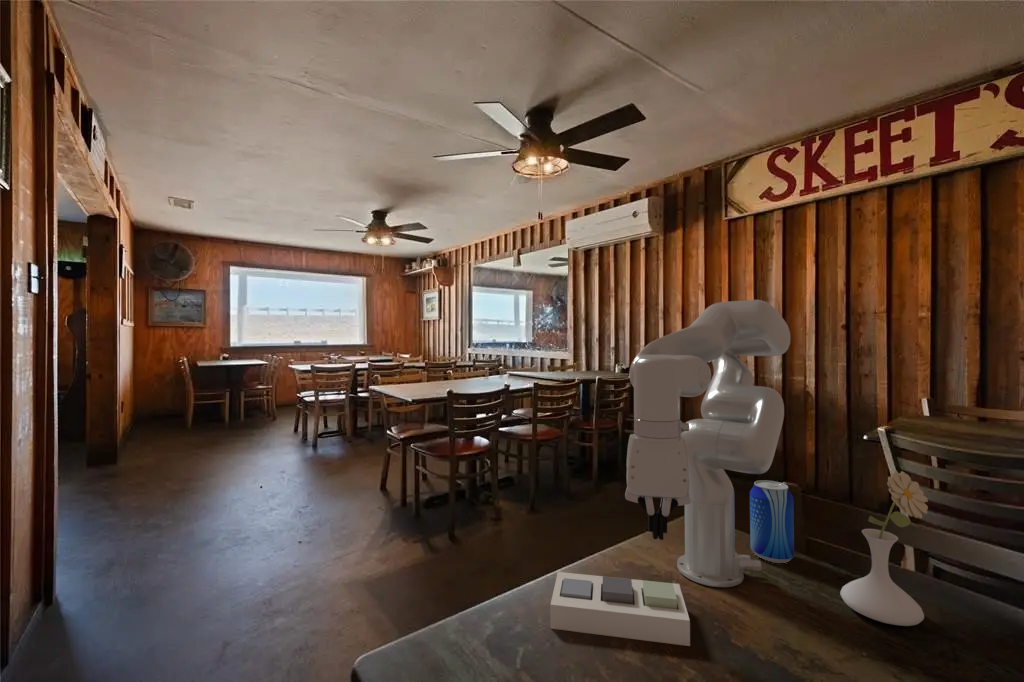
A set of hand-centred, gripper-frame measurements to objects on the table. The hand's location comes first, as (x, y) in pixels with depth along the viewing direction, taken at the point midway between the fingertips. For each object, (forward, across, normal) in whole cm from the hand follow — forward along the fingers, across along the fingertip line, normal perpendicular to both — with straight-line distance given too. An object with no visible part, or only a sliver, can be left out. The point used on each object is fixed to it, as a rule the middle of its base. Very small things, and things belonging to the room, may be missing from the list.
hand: (657, 536), depth 77 cm
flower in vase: (+15, -39, -11) cm, 43 cm away
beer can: (+15, -27, -30) cm, 43 cm away
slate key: (+13, +14, 0) cm, 19 cm away
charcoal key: (+12, +7, 0) cm, 14 cm away
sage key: (+12, 0, 0) cm, 12 cm away
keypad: (+15, +7, 0) cm, 16 cm away
